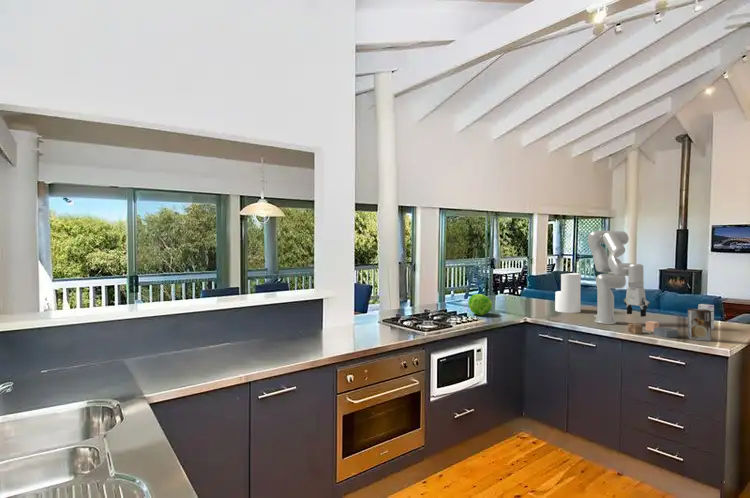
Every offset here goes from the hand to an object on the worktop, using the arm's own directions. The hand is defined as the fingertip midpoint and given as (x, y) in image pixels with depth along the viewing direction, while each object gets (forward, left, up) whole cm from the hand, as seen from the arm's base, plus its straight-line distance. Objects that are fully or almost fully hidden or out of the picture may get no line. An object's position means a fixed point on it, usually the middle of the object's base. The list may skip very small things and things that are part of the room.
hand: (636, 315), depth 254 cm
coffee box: (+21, +20, -11) cm, 31 cm away
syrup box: (0, +50, -11) cm, 51 cm away
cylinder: (-76, +12, -11) cm, 77 cm away
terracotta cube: (-4, +15, -10) cm, 19 cm away
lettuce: (-79, -58, -11) cm, 98 cm away
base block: (+10, +11, -11) cm, 18 cm away
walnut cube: (-1, 0, -10) cm, 10 cm away
